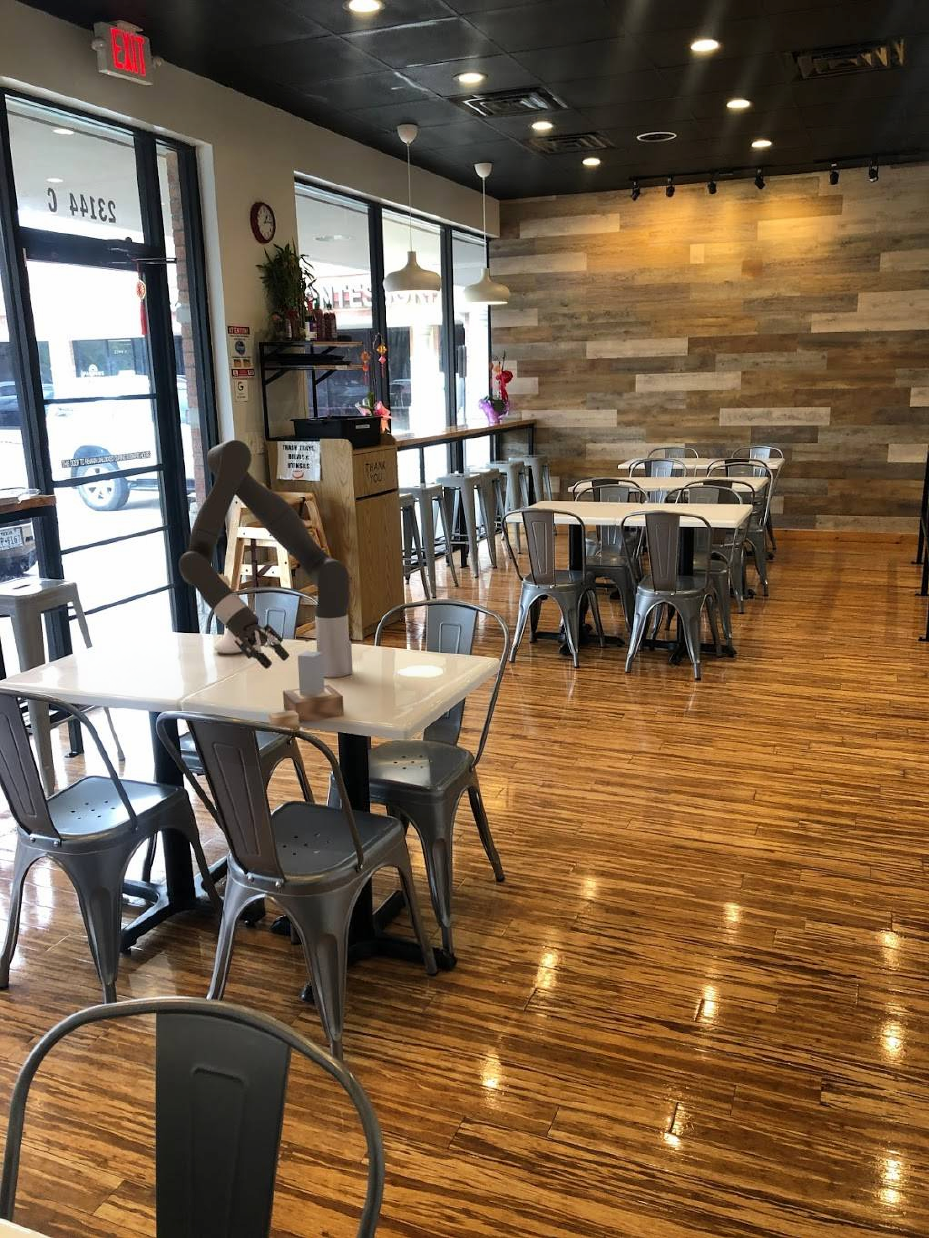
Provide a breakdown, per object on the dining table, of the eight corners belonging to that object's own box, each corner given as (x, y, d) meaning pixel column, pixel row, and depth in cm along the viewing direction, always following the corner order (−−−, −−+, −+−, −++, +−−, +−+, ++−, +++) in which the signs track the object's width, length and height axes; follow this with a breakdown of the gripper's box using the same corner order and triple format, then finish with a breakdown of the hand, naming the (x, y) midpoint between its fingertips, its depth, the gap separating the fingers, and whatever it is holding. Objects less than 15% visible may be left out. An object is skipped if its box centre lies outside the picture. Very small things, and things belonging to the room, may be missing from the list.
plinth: (329, 703, 271) (328, 683, 270) (343, 715, 260) (342, 695, 259) (284, 709, 266) (282, 690, 265) (296, 722, 256) (295, 702, 255)
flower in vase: (253, 647, 335) (248, 569, 330) (248, 655, 324) (243, 575, 319) (212, 648, 335) (206, 571, 329) (205, 657, 323) (199, 577, 318)
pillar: (308, 689, 265) (306, 651, 263) (324, 691, 264) (322, 652, 261) (299, 694, 261) (297, 655, 259) (315, 695, 259) (313, 656, 257)
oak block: (294, 725, 254) (293, 710, 253) (299, 730, 250) (298, 714, 249) (270, 729, 251) (269, 713, 250) (274, 734, 247) (273, 718, 247)
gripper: (229, 611, 258) (272, 659, 256) (259, 600, 271) (301, 646, 269) (212, 631, 260) (254, 678, 259) (243, 619, 274) (284, 665, 272)
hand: (278, 662), depth 264 cm, fingers open, 8 cm apart
